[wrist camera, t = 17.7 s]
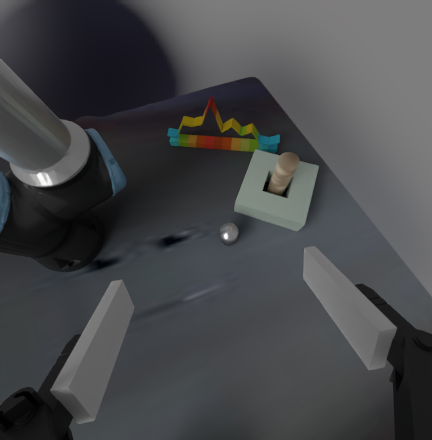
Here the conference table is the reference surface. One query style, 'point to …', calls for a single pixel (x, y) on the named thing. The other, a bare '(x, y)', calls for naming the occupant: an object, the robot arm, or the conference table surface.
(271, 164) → the hole block
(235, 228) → the short metal pin
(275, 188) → the tall beech pin
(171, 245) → the conference table surface
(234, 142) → the chart
